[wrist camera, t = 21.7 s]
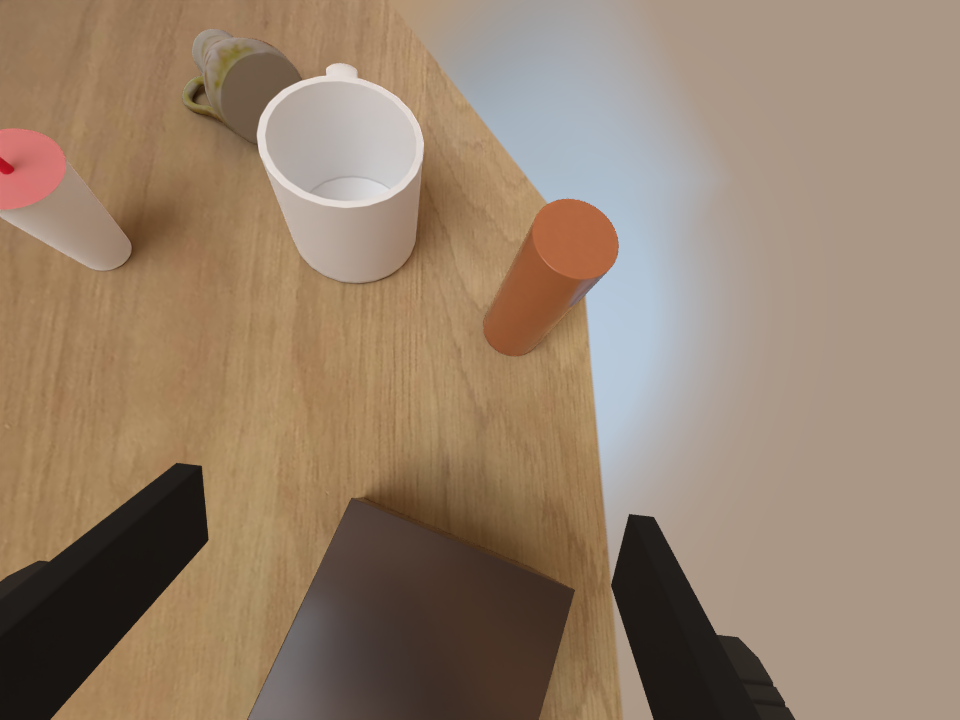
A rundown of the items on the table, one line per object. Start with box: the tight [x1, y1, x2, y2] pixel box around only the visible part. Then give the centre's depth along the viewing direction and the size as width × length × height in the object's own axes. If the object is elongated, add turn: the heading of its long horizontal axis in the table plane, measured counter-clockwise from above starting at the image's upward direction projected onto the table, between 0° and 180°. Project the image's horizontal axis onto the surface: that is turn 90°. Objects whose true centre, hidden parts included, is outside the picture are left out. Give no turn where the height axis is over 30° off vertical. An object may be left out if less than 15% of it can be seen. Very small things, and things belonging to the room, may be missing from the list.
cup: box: [0, 129, 132, 271], centre depth 28 cm, size 5×5×12 cm
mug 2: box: [257, 63, 424, 283], centre depth 33 cm, size 13×10×10 cm
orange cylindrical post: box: [483, 199, 619, 356], centre depth 31 cm, size 5×5×14 cm
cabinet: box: [247, 498, 575, 720], centre depth 26 cm, size 16×14×8 cm
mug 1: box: [182, 29, 302, 143], centre depth 36 cm, size 8×10×10 cm
